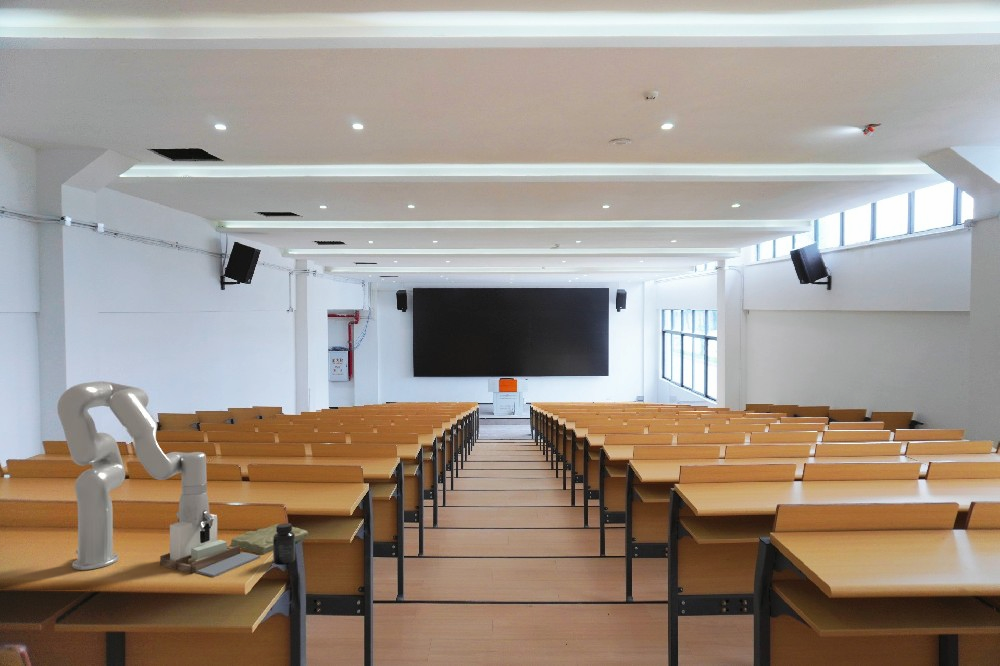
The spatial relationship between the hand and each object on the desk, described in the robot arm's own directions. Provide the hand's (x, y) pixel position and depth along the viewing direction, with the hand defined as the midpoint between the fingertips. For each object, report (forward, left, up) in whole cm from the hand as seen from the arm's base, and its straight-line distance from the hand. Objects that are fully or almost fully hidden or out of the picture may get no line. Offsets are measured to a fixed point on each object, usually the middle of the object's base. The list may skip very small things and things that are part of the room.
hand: (195, 539), depth 199 cm
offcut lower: (+7, 0, -7) cm, 10 cm away
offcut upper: (+7, 0, -4) cm, 8 cm away
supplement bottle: (+30, +11, -6) cm, 32 cm away
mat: (+16, +1, -6) cm, 17 cm away
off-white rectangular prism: (0, 0, -6) cm, 6 cm away
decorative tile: (+10, +23, -7) cm, 26 cm away
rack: (+3, 0, -6) cm, 7 cm away
